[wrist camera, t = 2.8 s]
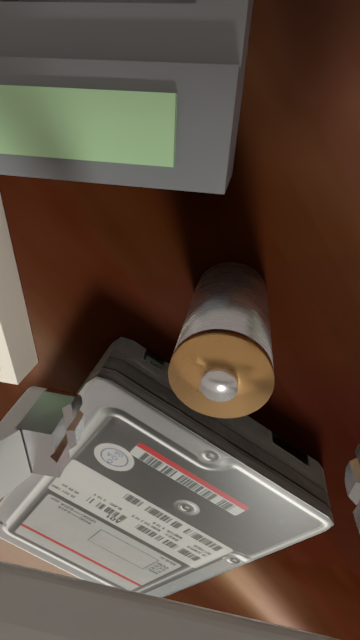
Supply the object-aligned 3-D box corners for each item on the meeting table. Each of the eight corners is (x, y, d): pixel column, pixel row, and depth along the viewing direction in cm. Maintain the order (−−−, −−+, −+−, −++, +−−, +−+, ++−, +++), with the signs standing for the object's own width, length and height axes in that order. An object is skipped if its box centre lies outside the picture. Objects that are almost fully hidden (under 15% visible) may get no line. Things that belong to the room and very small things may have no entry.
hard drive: (9, 486, 36) (-19, 528, 32) (122, 328, 22) (95, 370, 18) (148, 561, 39) (137, 608, 35) (327, 463, 25) (340, 524, 21)
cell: (273, 266, 17) (286, 353, 11) (260, 329, 19) (263, 434, 13) (198, 257, 18) (167, 335, 11) (193, 320, 20) (164, 415, 13)
